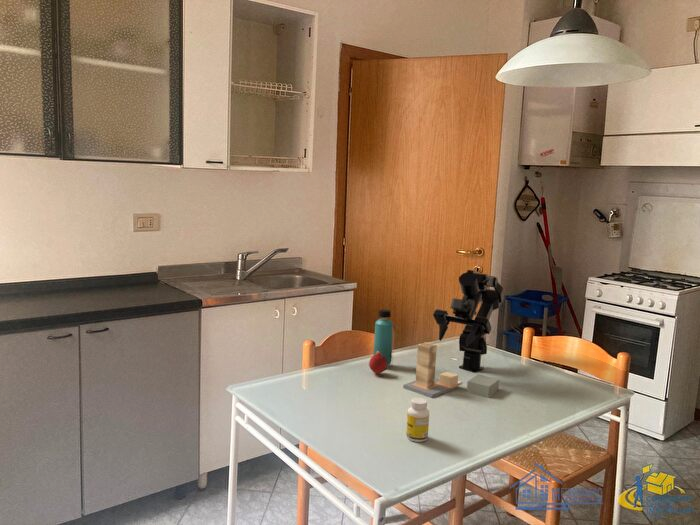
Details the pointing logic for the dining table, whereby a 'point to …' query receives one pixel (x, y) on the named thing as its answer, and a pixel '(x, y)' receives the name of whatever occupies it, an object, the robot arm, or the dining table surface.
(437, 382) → the board
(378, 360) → the onion
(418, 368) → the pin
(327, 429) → the dining table surface
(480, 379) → the cover
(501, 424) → the dining table surface
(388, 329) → the beverage bottle
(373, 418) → the dining table surface
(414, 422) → the supplement bottle
